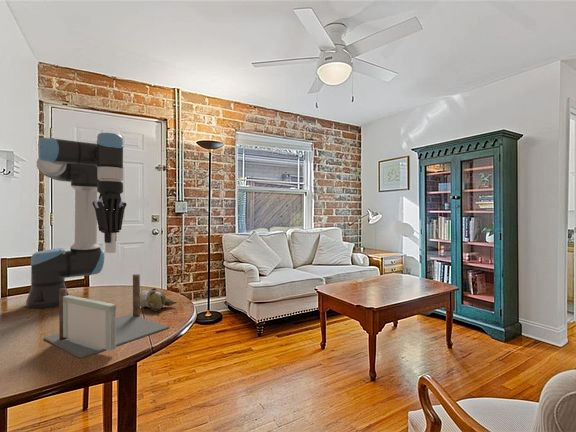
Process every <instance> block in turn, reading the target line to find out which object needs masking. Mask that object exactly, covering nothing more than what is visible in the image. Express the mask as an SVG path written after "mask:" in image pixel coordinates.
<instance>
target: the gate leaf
mask: <svg viewBox="0 0 576 432" xmlns="http://www.w3.org/2000/svg"><path fill="white" fill-rule="evenodd" d="M116 306H117V305H116V303H112V302H110V303H109V302H105V301H100V300H97V299H96V300H95V299H92V298H91V299H90V298H84V297H79V296H77V295H72V294H69V295H68V296H63V337H65V338H71V339H74V340H77V341H81V342H84V343H87V344H91V345H94V346H98V347H101V348H104V349H106V350H105V351H113V350H116V348H117V346H116V318H117V311H116V310H117V307H116Z"/></svg>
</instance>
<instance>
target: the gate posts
mask: <svg viewBox="0 0 576 432" xmlns="http://www.w3.org/2000/svg"><path fill="white" fill-rule="evenodd" d="M140 276H141V274H139V273H136V274H132V315H133V316H137V317H141V306H140V293H141V279H140V278H141V277H140ZM67 291H68V288H67V287H66V288H61V289H59V306H58V308H59V309H58V311H59V312H58V313H59V314H58V316H59V317H58V319H59V320H58V322H59V323H58V324H59V333H58V334H59V339H60V340H64V339H67V338H65V337H63V296H67Z"/></svg>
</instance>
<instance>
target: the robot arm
mask: <svg viewBox="0 0 576 432" xmlns="http://www.w3.org/2000/svg"><path fill="white" fill-rule="evenodd" d="M37 147H38V148H37V153H38V158H37V160H36V168H37V170H38V171H39V172H40V173H41V175H44V176H45V177H47V178H50V179H52V180H55V181H59V182H69V183H70V186H71V187H72V189H73V190H74V242H73V244H72V245H71V246H70V247H69V248H70V250H67V251H66V250H65V248H63V247H61V248H60V247H59V248H50V249H45V250H41V251H37V252H34V253H32V255H31V261H30V267H31V268H30V269H31V270H30V272H31V274H30V275H31V276H30V277H31V278H30V283H31V284H30V285H31V286H30V291H29V292H28V296H27V298H26V300H25V308H28V309H34V310H35V309H36V310H39V309H48V308H53V307H59V289H61V288H67V287H66V285H65V283H66V282H65V280H66V278H74V277H75V278H76V277H84V276H85V277H86V276H92V275H98V274H100V273H101V272H102V271H103V268H104V264H105V253H106V254H107V253H109V254H115V253H116V252H117V251H116V249H117V248H116V247H117V243H116V242H117V233H120V232H121V230H122V228H123V227H122V226H123V221H124V217H125V210H126V207H127V202H123V201H122V195H121V194H124V182H123V180H124V140H123V136H121V134H118V133H112V132H100V133H98V134H97V136H96V143H95V142H93V143H92V142H84V141H76V140H67V139H60V138H54V137H41V138H39V139H38V143H37ZM98 194H99V196H98ZM98 231H99V232H101V233H102V234H104V237H103V238H104V245H105V246H104V247H105V248H104V249H105V250H104V249H103V248H101V245H100V244H99V243H98V241H97V239H98ZM68 295H70V294H69V292H68V290H67V296H68Z"/></svg>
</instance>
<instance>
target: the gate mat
mask: <svg viewBox="0 0 576 432" xmlns="http://www.w3.org/2000/svg"><path fill="white" fill-rule="evenodd" d="M169 328H170V326H168V325H165V324H162V323H158V322H156V321H152V320H151V319H150V320H149V319H146V318H144V317H141V316H140V317H137V316H133V314H130V313H129V314H126V315H122V316H118V317H116V347H118V346H121V345H124V344H127V343H129V342H133V341H136V340H140V339H141V338H144V337H147V336H150V335H154V334H156V333H158V332H161V331H164V330H168V329H169ZM43 340H45V341H47V342H49V343H51V344H53V345H54V346H57V347H58V348H59V349H62V350H63V351H65V352H67V353H69V354H71V355H73V356H75V357H77V358H78V359H83V358H86V357H90V356H92V355H94V354H97V353H100V352H101V353H102V352H104V351H107V350H106V349H104V348H101V347H98V346H94V345H91V344H87V343H84V342H81V341H77V340H74V339H71V338H67V339H64V340H60V339H59V333H56V334H52V335H48V336H44V337H43Z"/></svg>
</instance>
